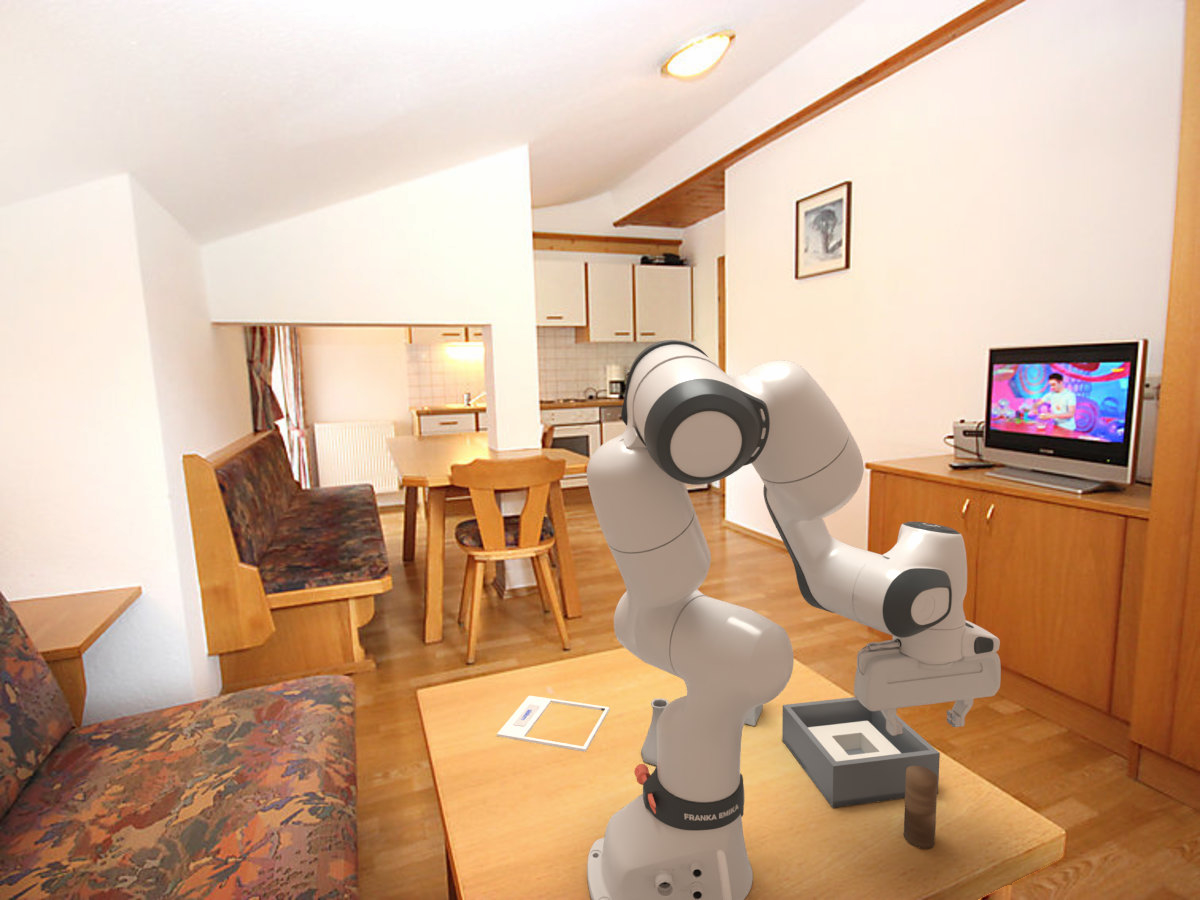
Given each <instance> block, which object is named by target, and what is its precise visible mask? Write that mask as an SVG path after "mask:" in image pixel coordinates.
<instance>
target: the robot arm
mask: <svg viewBox="0 0 1200 900" xmlns="http://www.w3.org/2000/svg"><path fill="white" fill-rule="evenodd" d="M620 412H621V414H620V417H621V420H622V422H623V423H624V425H625V427H626V428H625V430H624V431H623V432H622V433H621V434H619V435H618V436H615V437H613V438H611V439H609V440H608V441H606V442H604V443H603V444H601V445H600V446H599V447H598V448H597V449H596V450H595V451H594V452H593V454H592V455H591V457H590V459H589V460H588V463H587V467H586V480H587V485H588V489H589V490H588V491H589V494H590V498H591V503H592V506H593V508H594V513H595V516H596V518H597V519H596V520H597V521H598V524H599V527H600V530H601V532H602V534H603V537H604V539H605V541H606V544H607V546H608V548H609V551H610V552H611V555H612V557H613V559H614V561H615V563H616V566H617V568H618V570H619V573H620V575H621V577H622V580H623V582H624V586H625V589H626V591H625V592H624V593H623V595H622V596H621V597H620V598H619V601H618V603H617V605H616V607H615V610H614V615H613V631H614V634H615V638H616V639H617V641H618V643H619V644H620V645H621V646H623V648H625V649H626V650H627V651H629V652H630V653H631V654H632V655H634V656H635V657H637V658H638V659H639V660H641V661H642V662H643V663H645V664H647V665H650V666H652V667H654V668H657V669H659V670H662V671H663V672H666V673H669V674H670V675H673V676H676V677H678V678H680V679H682V680H683V681H684V685H685V687H686V695H684V696H680V697H678V698H676V699H674V700H672V701H671V702H668V703H669V704H668V705H667V706H666V707H665V708H664V710H663V711H662V713H661V714H660V716H659V719H658V721H657V766H656V765H655V768H654V770H653V771H652V773H651V774H650V771H649V767H648V766H647V765H646V763H639V764H637V765H636V767H635V768H634V770H633V772H634V775H635V777H636V781H637V783H638V784H639V785H641V786H642V793H641V794H640V795H639V796H638V797H636V798H634V799H633V800H632V801H630V802H629V803H628V804H625V806H624V807H622V808H621V809H619V810H618V811H616V812H615V813H613V814H612V816H611V817H610V818H609V821H608V822H607V825H606V829H605V832H604V837H602V838H599V839H596V840H595V841H594V842H593V844H592V846H591V847H590V850H589V852H588V857H587V863H586V875H587V876H586V878H587V879H586V880H587V886H588V891H589V892H588V893H589V896H590V899H591V900H745V899H746V898H747V897H748V895H749V893H750V891H751V890H752V887H753V886H752V885H753V880H754V879H753V878H754V876H753V869H752V865H751V863H750V859H749V855H748V853H747V847H746V842H745V836H744V830H743V819H742V817H744V811H745V810H744V809H745V807H744V805H745V786H744V785H745V784H744V777H743V774H742V773H741V757H742V756H741V751H742V738H743V736H742V735H743V729H744V726H745V721H746V718H747V717H748V715H749V714H750V713H751V711H752V710H754V709H755V708H756V707H758V706H760V705H763V706H764V705H765V704H768V703H769V702H771V701H773V700H775V699H776V698H777V697H778V696H779V695H780V694H781V693H782V692H783V691H784V690H785V688H786V687H787V685H788V683H789V682H790V679H791V676H792V674H793V669H794V662H795V661H794V657H795V656H794V650H793V645H792V642H791V639H790V637H789V635H788V633H787V631H786V629H785V628H784V627H782V626H781V625H779V624H778V623H776V622H774V621H773V620H771V619H769V618H768V617H765V616H764V615H762V614H760V613H758V612H756V611H755V610H753V609H751V608H747V607H744V606H740V605H738V604H734V603H731V602H728V601H724V600H720V599H717V598H715V597H710V596H709V595H706V594H704V593H702V591H700V590H699V588H700V587H701V586H702V584H703V583H704V582H705V581H706V578H707V576H708V574H709V571H710V567H711V560H712V553H711V550H710V547H709V544H708V542H707V539H706V536H705V534H704V531H703V529H702V526H701V523H700V521H699V518H698V515H697V513H696V512H697V511H696V509H695V506H694V505H693V502H692V498H691V497H690V494H689V491H688V488H687V486H686V484H687V485H695V486H696V485H697V486H698V485H699V486H700V485H707V484H711V483H714V482H715V483H716V482H718V481H720V480H723V479H725V478H727V477H728V476H731V475H733V474H734V473H736V472H737V471H739V470H740V469H741V468H742V467H745V466H747V465H750V464H752V466H753V467H754V470H755V471H756V473H757V474H758V476H759V477H760V479H761V481H762V482H763V484H764V485H763V498H764V503H765V505H766V508H767V511H768V513H769V515H770V517H771V520H772V522H773V524H774V526H775V528H776V530H777V532H778V534H779V537H780V538H781V540H782V542H783V544H784V546H785V548H786V550H787V552H788V554H789V556H790V559H791V561H792V563H793V567H794V570H795V575H796V581H797V586H798V588H799V591H800V593H801V596H802V598H803V599H804V600H805V602H806V603H807V604H809V605H810V606H812V607H813V608H815V609H819V610H822V611H825V612H828V613H833V614H837V615H838V616H841V617H844V618H846V619H849V620H851V621H853V622H856V623H859V624H861V625H863V626H866V627H869V628H871V629H874V630H877V631H879V632H882V633H884V634H887V635H890V636H892V639H890V640H889V639H887V640H884V641H878V642H877V641H872V642H868V643H866V646H863V647H862V648H861V649H860V650H858V652H857V655H856V671H855V675H854V676H855V677H854V683H853V694H854V695H853V696H854V697H856V698H857V700H858V701H859V702H860V703H861V704H862V705H863V706H864V707H866V708H867V709H868V710H869V711H881V712H882V714H883V715H884V717H885V718H886V730H887V731H888V732H889V733H890V734H891V735H892V736H894V735H901V734H903V731H902V729H903V724H902V723H901V722H900V721H898V719H897V718H896V717H893V715H894V714H896V715H897V713H898V712H897V711H898V710H897V709H902V708H903V709H904V708H910V707H918V706H925V705H926V706H927V705H933V704H941V703H949V702H954V705H953V706H952V708H951V709H948V710H946V722H947V723H948V724H949V725H951V727H952V728H960V727H965V722H966V720H965V719H966V715H968V713H969V711H970V710H971V708H972V707H973V705H974V700H975V699H979V698H988V697H994V696H995V695H997V693H998V691H999V690H1000V688H1001V680H1002V679H1001V678H1002V676H1001V675H1002V674H1001V673H1002V671H1001V670H1002V669H1001V668H1002V667H1001V666H1002V665H1001V659H1000V655H999V654H998V652H999V650H1000V646H1001V644H1000V643H1001V641H1000V639H999V637H997V636H996V635H994V634H993V633H991V632H989V631H988V630H986V629H985V628H983V627H981V626H979V625H977V624H975V623H973V622H971V621H969V620H966V615H965V611H964V599H965V597H966V594H967V591H968V590H967V589H968V562H967V561H968V560H967V550H966V544H965V541H964V537H963V535H962V533H960V532H958V530H956V529H954V528H952V527H950V526H945V525H942V524H935V523H931V522H930V523H929V522H925V521H907V522H903V523H902V524H901V525H900V527H899V530H898V536H897V541H896V543H895V544H894V546H893V547H891V549H890V550H889V551H887V552H886V553H883V554H879V553H877V552H873V551H870V550H866V549H863V548H859V547H856V546H852V545H850V544H847V543H844V542H842V541H841V540H839V539H837V538H835V537H834V536H832V535H831V534H830V532H829V530H828V528H827V525H826V523H825V520H824V519H825V518H826V517H830V515H831V516H832V515H834V514H835V513H836V512H838V511H839V510H841V509H842V508H843V507H845V506H846V505H847V504H848V503H849V502H850V501H852V498H854V496H855V494H856V493H857V492H858V490H859V488H860V486H861V483H862V480H863V476H864V472H865V468H864V462H863V456H862V452H861V450H860V448H859V446H858V444H857V442H856V439H855V438H854V436H853V434H852V433H851V431H850V429H849V427H848V426H847V424H846V422H845V420H844V419H843V417H842V415H841V413H840V412H839V411H838V409H837V407H836V405H835V404H834V403H833V401H832V400H831V399H830V397H829V396H828V395H827V393H826V391H825V390H824V389H823V387H821V385H820V384H819V383H818V382H817V381H816V379H814V378H813V377H812V376H811V374H810V373H809V371H807V370H806V369H805V368H804V367H802V366H801V365H800V364H798V363H795V362H793V361H789V360H780V359H779V360H778V359H776V360H770V361H767V362H766V361H765V362H763V363H760V364H758V365H756V366H754V367H752V368H750V369H749V370H748V371H747V372H745V373H743V374H742V373H741V374H739V375H730V374H729V375H728V374H727V373H726V372H724V370H722V368H721V367H720V366H719V365H718V364H717V363H716V362H714V360H712V359H711V358H710V357H709V356H708V355H707V354H706V353H705V352H704V351H703V350H702V349H701V348H699V347H697V346H695V345H694V344H691V343H689V342H687V341H682V340H676V339H674V340H673V339H668V340H667V339H666V340H660V341H657V342H655V343H652V344H651V345H648V346H647V347H645V348H644V349H643V350H642V351H641V352H640V353H639V354H638V355H637V356H636V358H635V359H634V361H633V362H632V364H631V367H630V369H629V373H628V376H627V378H626V384H625V390H624V398H623V403H622V407H621V411H620ZM892 714H893V715H892Z"/></svg>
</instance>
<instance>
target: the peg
mask: <svg viewBox="0 0 1200 900" xmlns="http://www.w3.org/2000/svg"><path fill="white" fill-rule="evenodd" d="M937 781H938V778H937V775H936V774H935V773H934V772H933V771H931V770H930V769H928V768H925V767H922V766H910V767H908V768H907V769H906V786H905V798H904V815H903V816H904V817H903V836H904V837H903V838H905V841H906V842H907V843H909V844H910V845H911V846H913V847H915V848H917V849H922V850H930V849H932V848H933V847H935V844H936V822H937V821H936V820H937V803H938V802H937V801H938V799H937V798H938V794H937Z"/></svg>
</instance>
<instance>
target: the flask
mask: <svg viewBox="0 0 1200 900" xmlns="http://www.w3.org/2000/svg"><path fill="white" fill-rule="evenodd" d="M669 703H670V702H669V700H668V699H665V698H662V697H660V698H653V699H652V701H651V702H650V704H651V708H652V716H651V721H650V725H649V728H648V731H647V733H646V736H645V740H644V742H643V745H642V746H641V749H640V753H641V757H642V760H643V762H644V763H647V764H650V765H653V766H655V767H656V766H657V721H658V719H659V716H660V714H661V713H662V711H663V710H664V708H665V707H666V706H667V705H668V704H669Z"/></svg>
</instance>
